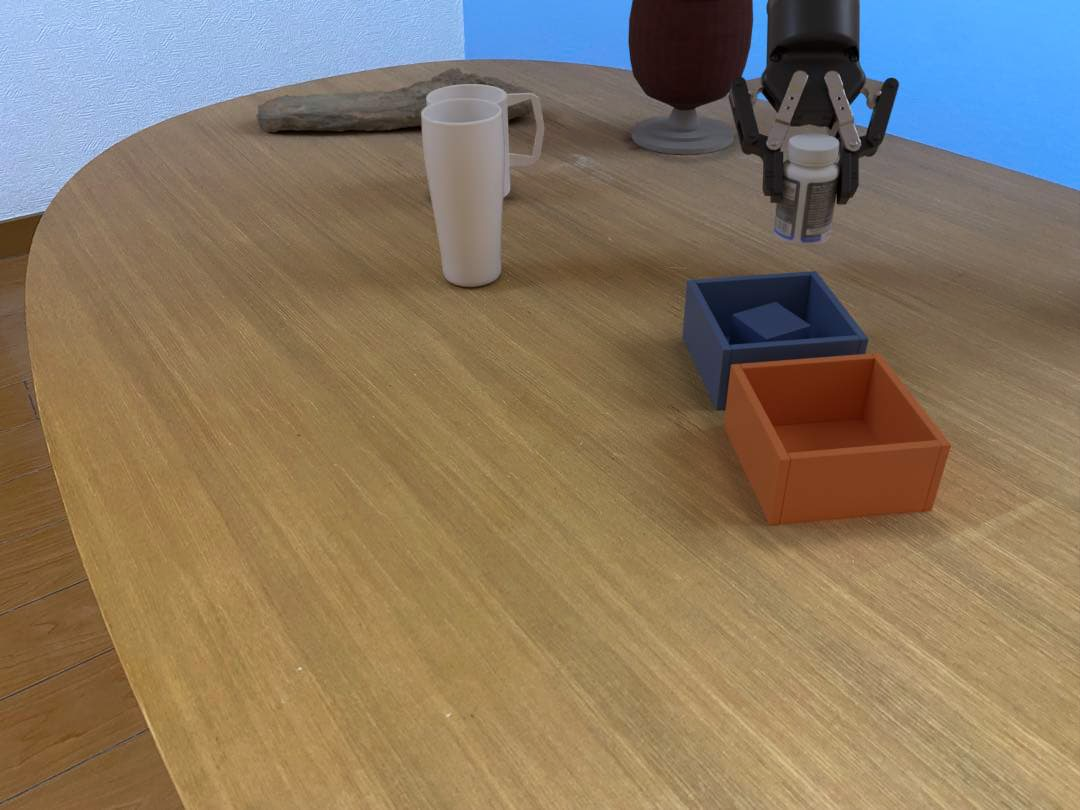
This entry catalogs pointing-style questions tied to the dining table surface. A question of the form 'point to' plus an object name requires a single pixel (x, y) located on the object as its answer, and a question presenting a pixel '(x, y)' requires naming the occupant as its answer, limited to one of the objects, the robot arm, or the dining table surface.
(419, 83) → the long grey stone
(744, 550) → the dining table surface
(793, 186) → the pill bottle
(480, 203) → the drinking glass
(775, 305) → the blue block
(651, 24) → the mate gourd
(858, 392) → the orange bin
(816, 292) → the blue bin
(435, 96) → the cup
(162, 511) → the dining table surface
